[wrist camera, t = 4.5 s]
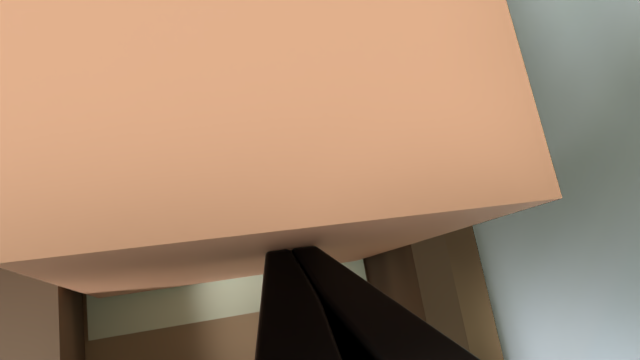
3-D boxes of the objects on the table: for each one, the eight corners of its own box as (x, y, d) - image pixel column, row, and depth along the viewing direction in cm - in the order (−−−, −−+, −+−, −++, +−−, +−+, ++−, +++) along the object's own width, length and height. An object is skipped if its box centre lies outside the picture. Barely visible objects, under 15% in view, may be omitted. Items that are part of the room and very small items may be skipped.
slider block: (356, 260, 14) (562, 198, 7) (98, 298, 12) (-12, 264, 4) (314, 22, 16) (440, -230, 9) (84, 15, 14) (-10, -337, 6)
